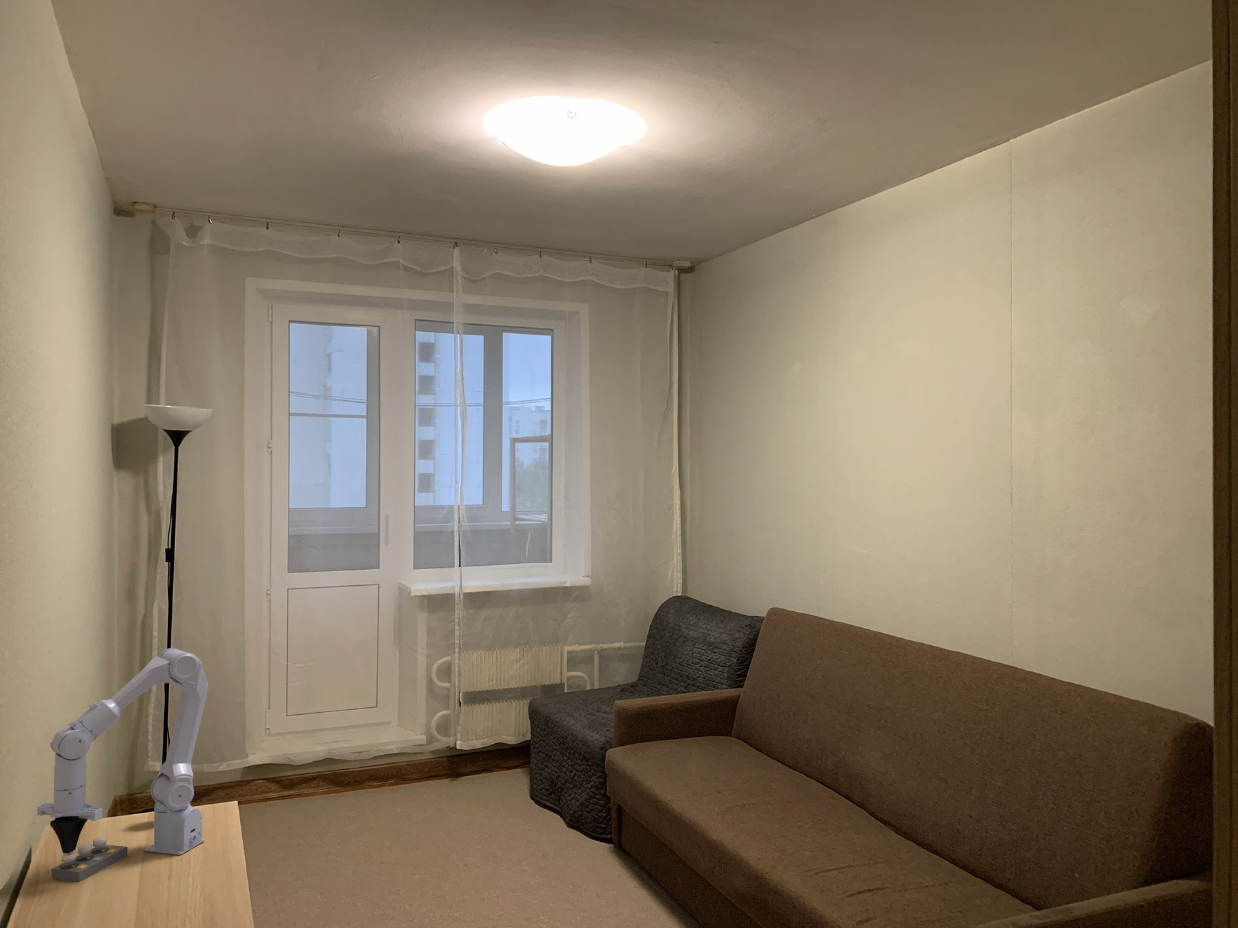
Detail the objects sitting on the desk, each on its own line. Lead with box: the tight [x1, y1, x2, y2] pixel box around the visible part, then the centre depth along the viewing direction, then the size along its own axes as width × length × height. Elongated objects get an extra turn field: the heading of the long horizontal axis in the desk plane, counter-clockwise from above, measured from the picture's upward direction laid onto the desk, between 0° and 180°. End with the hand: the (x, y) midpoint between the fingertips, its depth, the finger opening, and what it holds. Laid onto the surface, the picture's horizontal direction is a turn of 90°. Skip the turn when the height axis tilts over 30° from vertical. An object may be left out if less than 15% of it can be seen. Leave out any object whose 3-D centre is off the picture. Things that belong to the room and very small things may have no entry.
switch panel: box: [50, 843, 129, 883], centre depth 189 cm, size 7×13×2 cm, turn 167°
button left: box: [61, 850, 78, 863], centre depth 185 cm, size 3×3×1 cm
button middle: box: [77, 843, 93, 855], centre depth 189 cm, size 3×3×1 cm
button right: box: [92, 836, 108, 848], centre depth 193 cm, size 3×3×1 cm
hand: (69, 851), depth 185 cm, fingers closed
